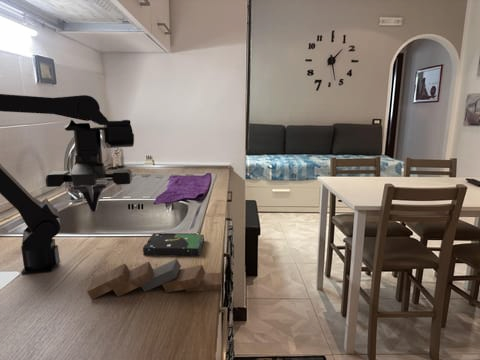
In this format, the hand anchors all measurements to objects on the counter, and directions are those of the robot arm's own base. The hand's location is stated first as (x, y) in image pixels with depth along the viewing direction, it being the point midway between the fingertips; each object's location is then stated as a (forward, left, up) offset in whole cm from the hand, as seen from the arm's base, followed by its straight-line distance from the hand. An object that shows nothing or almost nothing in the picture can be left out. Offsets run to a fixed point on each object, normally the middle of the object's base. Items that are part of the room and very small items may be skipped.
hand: (94, 211), depth 84 cm
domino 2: (+7, -18, -11) cm, 23 cm away
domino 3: (+13, -17, -11) cm, 24 cm away
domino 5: (+22, -19, -12) cm, 31 cm away
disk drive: (+20, +2, -13) cm, 23 cm away
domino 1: (+2, -18, -11) cm, 21 cm away
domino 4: (+18, -19, -11) cm, 28 cm away
